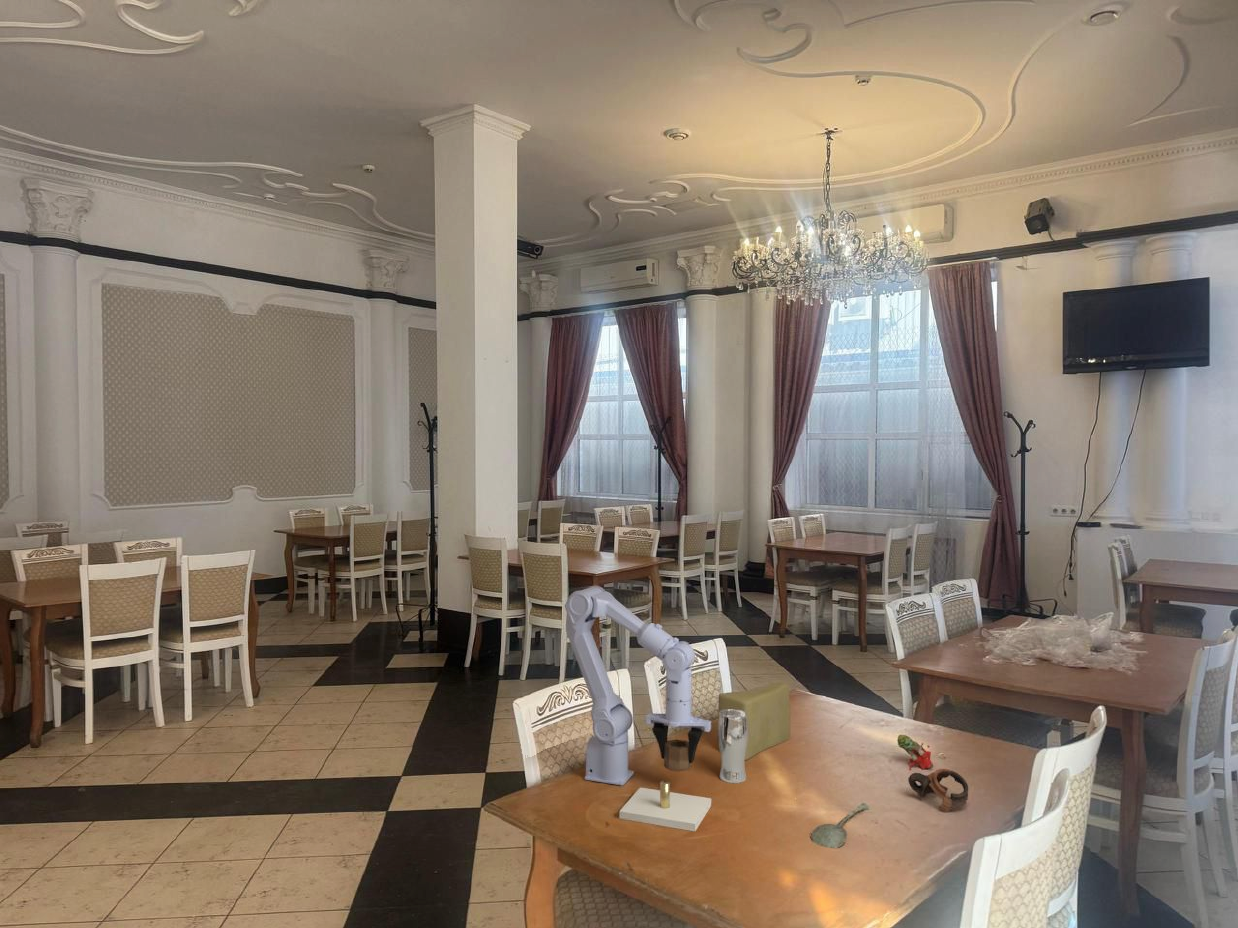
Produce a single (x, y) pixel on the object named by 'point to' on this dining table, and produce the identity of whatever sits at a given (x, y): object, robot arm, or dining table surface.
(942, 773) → the brown looped clamp
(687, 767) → the walnut bead
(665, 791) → the brass rod
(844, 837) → the soupspoon
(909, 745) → the figurine
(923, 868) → the dining table surface
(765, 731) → the cheese
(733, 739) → the beer glass
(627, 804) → the white rectangular board
